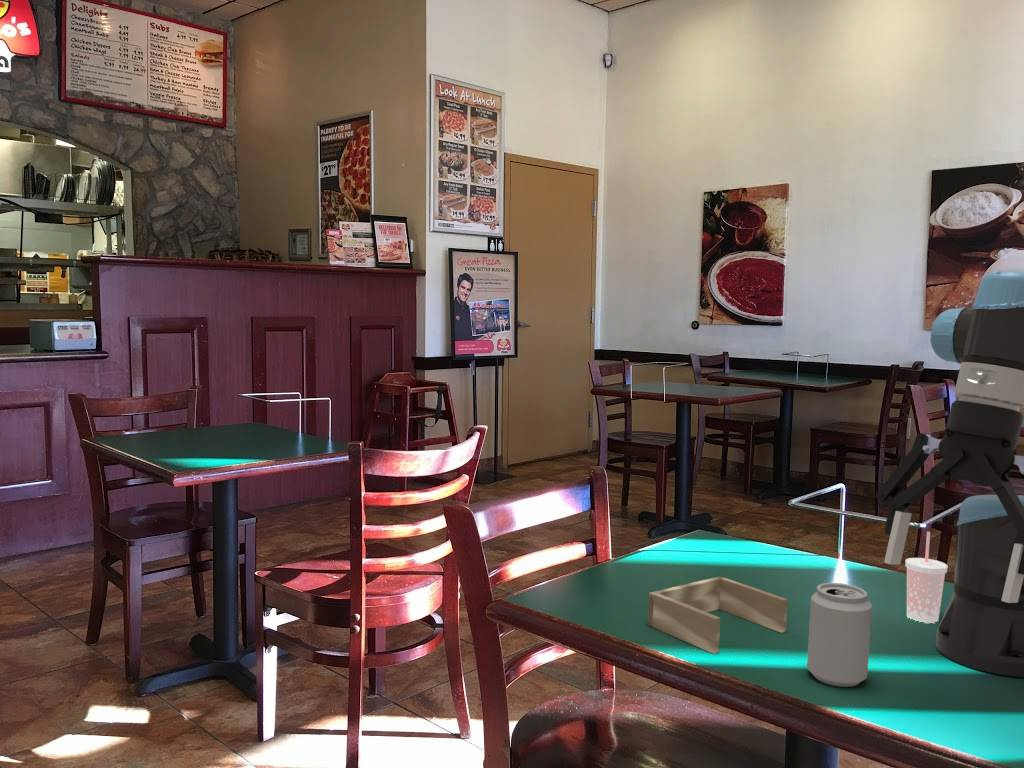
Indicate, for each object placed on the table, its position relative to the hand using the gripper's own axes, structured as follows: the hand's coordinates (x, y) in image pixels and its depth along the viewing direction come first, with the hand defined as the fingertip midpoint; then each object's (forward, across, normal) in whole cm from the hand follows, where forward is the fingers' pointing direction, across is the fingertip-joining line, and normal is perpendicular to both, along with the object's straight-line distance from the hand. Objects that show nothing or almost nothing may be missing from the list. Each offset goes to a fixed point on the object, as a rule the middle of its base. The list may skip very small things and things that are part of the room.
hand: (947, 582), depth 102 cm
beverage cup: (+12, -17, +36) cm, 42 cm away
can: (+17, -13, +5) cm, 22 cm away
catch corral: (+18, -33, +6) cm, 38 cm away
